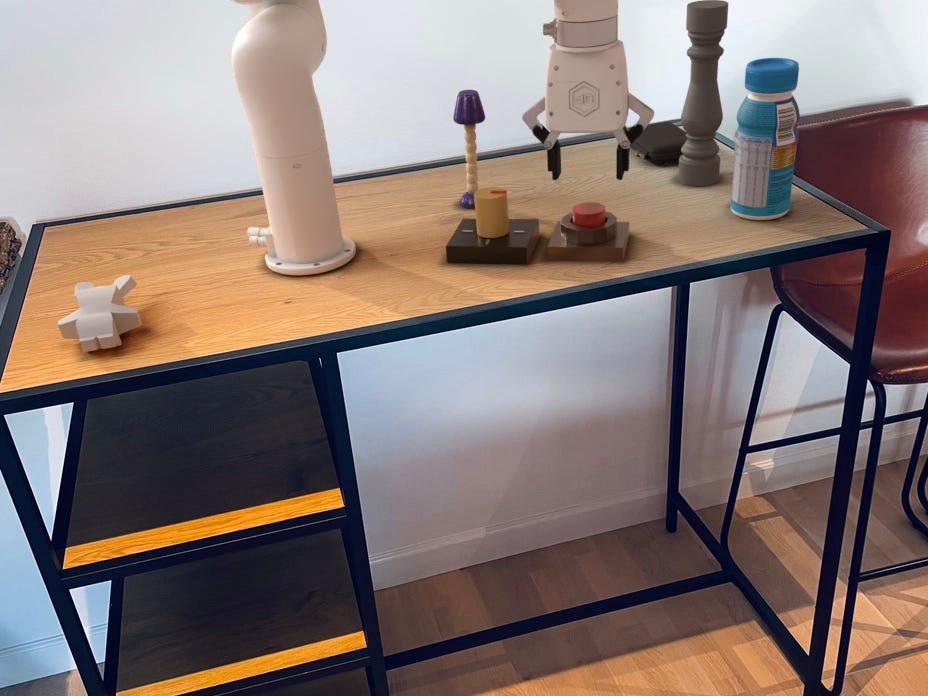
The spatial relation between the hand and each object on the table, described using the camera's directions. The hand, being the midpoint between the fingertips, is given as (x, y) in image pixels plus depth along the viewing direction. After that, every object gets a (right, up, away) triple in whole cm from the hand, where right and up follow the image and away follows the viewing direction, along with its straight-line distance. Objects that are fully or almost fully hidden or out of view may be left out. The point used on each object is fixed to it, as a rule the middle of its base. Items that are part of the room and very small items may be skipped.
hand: (588, 175), depth 129 cm
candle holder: (+20, +6, +24) cm, 32 cm away
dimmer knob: (-12, -6, +6) cm, 15 cm away
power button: (0, -5, +4) cm, 6 cm away
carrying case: (+16, +14, +36) cm, 42 cm away
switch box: (+1, -8, +6) cm, 10 cm away
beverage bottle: (+26, -2, +12) cm, 28 cm away
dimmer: (-12, -8, +8) cm, 16 cm away
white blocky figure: (-61, -21, -4) cm, 65 cm away
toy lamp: (-15, +2, +23) cm, 27 cm away
